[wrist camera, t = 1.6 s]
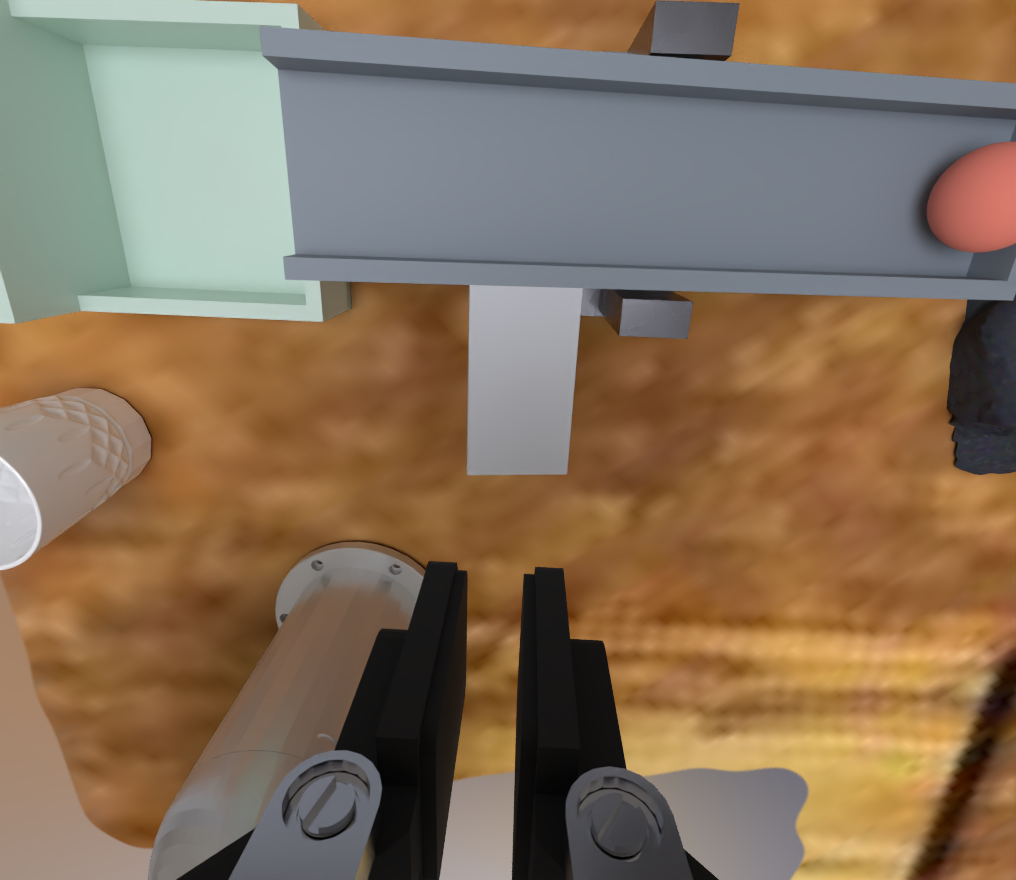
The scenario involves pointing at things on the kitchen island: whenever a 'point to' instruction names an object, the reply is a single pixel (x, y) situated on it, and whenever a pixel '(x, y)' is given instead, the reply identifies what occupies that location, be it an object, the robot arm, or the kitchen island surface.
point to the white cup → (63, 464)
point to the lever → (612, 192)
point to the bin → (147, 162)
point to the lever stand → (679, 36)
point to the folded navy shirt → (985, 388)
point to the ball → (976, 200)
